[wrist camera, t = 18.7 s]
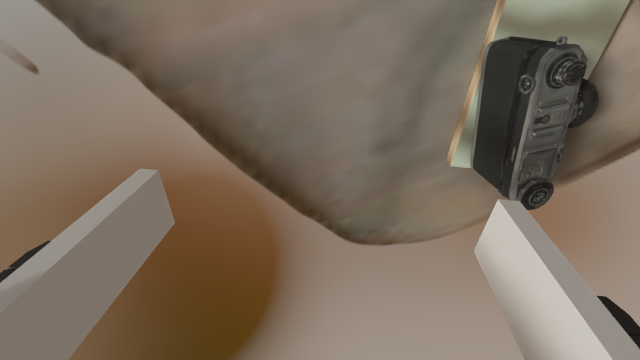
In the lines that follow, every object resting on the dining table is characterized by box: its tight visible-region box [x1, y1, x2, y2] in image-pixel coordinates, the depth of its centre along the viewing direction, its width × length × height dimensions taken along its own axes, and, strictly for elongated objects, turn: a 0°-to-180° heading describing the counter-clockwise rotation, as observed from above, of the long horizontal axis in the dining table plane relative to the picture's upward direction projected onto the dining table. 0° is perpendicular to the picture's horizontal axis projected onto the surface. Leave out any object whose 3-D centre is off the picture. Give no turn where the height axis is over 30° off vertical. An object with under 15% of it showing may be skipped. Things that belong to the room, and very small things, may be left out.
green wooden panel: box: [446, 0, 630, 168], centre depth 26 cm, size 25×12×18 cm, turn 178°
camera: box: [470, 36, 598, 210], centre depth 31 cm, size 18×9×10 cm, turn 11°
